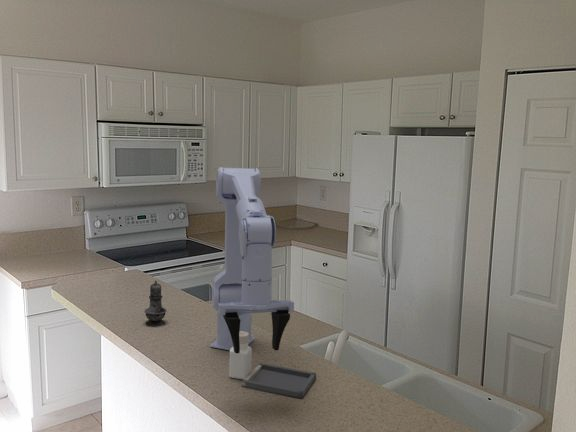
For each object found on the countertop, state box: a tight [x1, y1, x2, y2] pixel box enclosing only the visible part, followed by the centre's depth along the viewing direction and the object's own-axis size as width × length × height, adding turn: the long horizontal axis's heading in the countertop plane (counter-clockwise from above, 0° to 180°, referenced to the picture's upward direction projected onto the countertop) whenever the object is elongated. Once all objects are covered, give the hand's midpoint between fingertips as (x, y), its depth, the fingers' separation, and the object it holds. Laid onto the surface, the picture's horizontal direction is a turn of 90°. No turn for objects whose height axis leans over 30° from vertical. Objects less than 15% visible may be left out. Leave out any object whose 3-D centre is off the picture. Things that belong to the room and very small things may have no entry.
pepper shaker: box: [228, 331, 253, 380], centre depth 115 cm, size 4×4×10 cm
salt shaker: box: [143, 280, 168, 328], centre depth 144 cm, size 6×6×12 cm
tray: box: [241, 362, 317, 400], centre depth 113 cm, size 10×13×1 cm
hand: (256, 350), depth 102 cm, fingers open, 7 cm apart
